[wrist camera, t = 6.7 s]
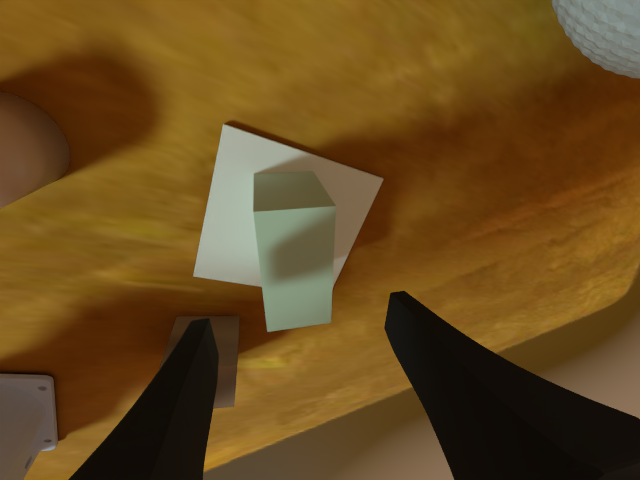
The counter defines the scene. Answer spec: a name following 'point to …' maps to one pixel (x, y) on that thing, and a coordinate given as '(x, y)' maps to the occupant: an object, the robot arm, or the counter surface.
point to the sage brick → (294, 248)
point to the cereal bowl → (604, 32)
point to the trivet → (237, 203)
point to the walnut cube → (227, 349)
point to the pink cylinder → (28, 149)
